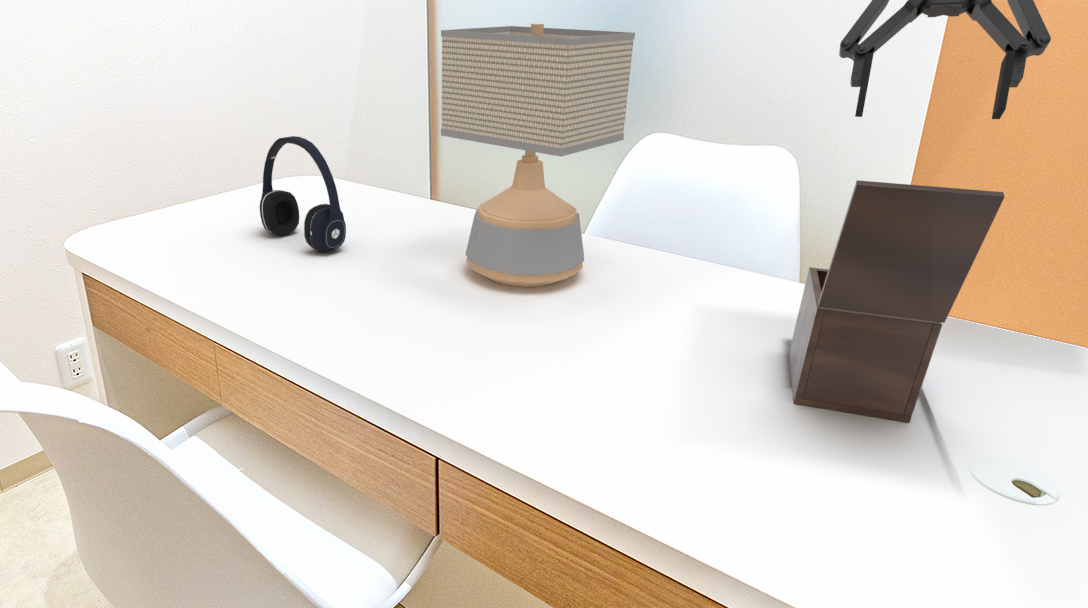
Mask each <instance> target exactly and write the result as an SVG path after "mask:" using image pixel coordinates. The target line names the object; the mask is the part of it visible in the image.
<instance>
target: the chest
mask: <svg viewBox="0 0 1088 608" xmlns="http://www.w3.org/2000/svg"><path fill="white" fill-rule="evenodd" d="M828 270H829V268H826V269H825V268H818V267H810V266H809V267H808V270H807V275H806V279H805V284H804V288H803V293H802V297H801V301H800V304H799V309H798V313H797V318H796V322H795V325H794V330H793V333H792V334H793V335H792V337H791V342H790V347H789V351H788V358H789V369H790V380H791V391H792V402H793V404H795V405H800V406H805V407H811V408H818V409H824V410H829V411H835V412H842V413H848V414H855V415H860V416H866V417H872V418H879V419H885V420H889V421H890V420H891V421H895V422H896V421H897V422H901V423H902V422H903V423H908V424H909V423H911V420H912V416H913V413H914V411H915V408H916V405H917V401H918V398H919V396H920V393H921V390H922V386H923V384H924V381H925V378H926V375H927V372H928V369H929V366H930V363H931V360H932V357H933V354H934V351H935V348H936V345H937V342H938V339H939V336H940V334H941V331H942V327H943V323H940V322H933V321H925V320H917V319H909V318H902V317H894V316H886V315H878V314H870V313H863V312H855V311H847V310H839V309H832V308H824V307H818V302H819V298H820V295H821V292H822V289H823V286H824V283H825V279H826V276H827V273H828Z"/></svg>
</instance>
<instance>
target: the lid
mask: <svg viewBox="0 0 1088 608" xmlns="http://www.w3.org/2000/svg"><path fill="white" fill-rule="evenodd" d="M1005 198H1006V197H1005V194H1004V191H996V190H995V191H994V190H981V189H970V188H969V189H968V188H957V187H945V186H933V185H932V186H931V185H919V184H910V183H909V184H908V183H907V184H906V183H895V182H894V183H893V182H881V181H869V180H856V181H855V184H854V188H853V190H852V194H851V197H850V200H849V203H848V206H847V210H846V212H845V216H844V218H843V219H844V220H843V223H842V225H841V228H840V232H839V234H838V238H837V241H836V246H835V248H834V251H833V254H832V257H831V261H830V264H829V267H828V269H829V270H828V273H827V276H826V279H825V283H824V286H823V289H822V292H821V295H820V298H819V302H818V307H824V308H832V309H839V310H847V311H855V312H863V313H870V314H878V315H886V316H894V317H902V318H909V319H917V320H925V321H933V322H940V323H941V324H945V323H946V321H947V319H948V316H949V314H950V312H951V311H952V308H953V306H954V304H955V302H956V300H957V297H958V296H959V293H960V291H961V290H962V287H963V285H964V283H965V281H966V279H967V277H968V275H969V272H970V271H971V268H972V266H973V265H974V262H975V260H976V258H977V256H978V254H979V253H980V252H979V251H980V249H981V247H982V245H983V243H984V241H985V239H986V237H987V236H988V235H987V234H989V231H990V229H991V227H992V224H993V223H994V220H995V219H996V216H997V215H998V213H999V210H1000V208H1001V206H1002V203H1003V201H1004V200H1005Z"/></svg>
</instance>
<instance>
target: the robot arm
mask: <svg viewBox="0 0 1088 608" xmlns="http://www.w3.org/2000/svg"><path fill="white" fill-rule="evenodd" d="M889 2H890V0H871V2H869V3H868V5H867V7H865V8H864V10H863V12H862V13H861V14H860V15H859V17H858V18H857V20H856V21H855V22H854V24H853V25H852V26H851V28H850V29H849V30H848V31H847V33H846V34H845V36H844V37H843V38H842V40H841V41H840V43H839V52H838V53H839V57H840V58H841V59H846V58H848V59H850V60H852V62H853V65H852V70H851V75H850V82H849V83H850V88H859V91H858V97H857V103H856V108H855V109H856V110H855V114H854V117H855V118H863V114H864V109H865V105H866V104H865V103H866V99H867V98H866V97H867V93H868V87H869V81H870V76H871V70H872V65H873V59H874V54H875V53H876V52H877V51H878V50H879V49H880V48H882V47H883V46H884V45H885V44H887V42H889V41H890V40H891V39H892V38H893V37H895V35H897V34H898V33H899V32H900V31H901V30H903V29H904V28H905V27H906V26H907V25H908V24H910V23H912V22H914V21H915V20H916V19H917V18H919V17H920V16H921V15H922V14H923V15H924V16H927V18H938V17H941V16H946V17H953V18H954V17H960V15H962V14H964V13H965V14H966V15H967V16H968V17H969V18H970V19H971V20H972V21H974V22H976V23H977V24H978V25H979V26H980V27H981V28H982V29H983V30H984V31H985V33H986V34H987V35H988V36H989V37H990V38H991V39H992V40H993V41H994V42H995V44H996V45H997V46H998V47H999V49H1001V50H1002V52H1004V54H1005V55H1004V57H1003V58H1002V60H1001V63H1000V67H999V75H998V80H997V85H996V91H995V97H994V103H993V109H992V114H991V120H1000V119H1001V118H1002V116H1003V115H1004V113H1005V111H1006V109H1007V104H1008V99H1009V94H1010V93H1009V92H1010V88H1018V87H1019V85H1020V83H1021V82H1022V80H1023V78H1024V76H1025V75H1024V74H1025V69H1026V64H1027V59H1028V58H1029V57H1032V56H1035V57H1039V56H1041V55H1042V54H1044V52H1045V51H1046V49H1047V47H1048V46H1049V44H1050V42H1051V40H1052V37H1051V35H1050V33H1049V31H1048V28H1047V26H1046V24H1045V22H1044V20H1043V17H1042V15H1041V14H1040V11H1039V10H1038V7H1037V5H1036V3H1035V0H1007V3H1008V4H1007V5H1008V6H1009V8H1010V10H1011V12H1012V15H1013V17H1014V19H1015V21H1016V23H1017V25H1018V28H1019V30H1020V31H1019V30H1018V29H1017V28H1016V27H1015V26H1014V25H1013V23H1012V22H1011V21H1010V20H1009V19H1008V18H1007V17H1006V16H1005V15H1004V14H1003V13H1002V11H1000V10H999V8H998V7H997V6H996V5H995V4H994V2H993V1H992V0H907V1H906V2H905V4H904V5H903V6H902V7H901V8H900V9H898V10H897V11H896V12H895V13H894V14H893V15H891V16H890V17H889V18H887V19H886V21H884V22H883V23H882V24H880V26H878V27H877V29H875V30H874V31H873V32H872V33H871V34H869V36H867V37H866V38H865V39H864V40H863V38H864V37H865V36H866V34H867V33H868V32H869V30H870V29H871V28H872V26H873V25H874V24H875V22H876V21H877V19H879V17H880V16H881V14H882V13H883V12H884V10H886V8H887V6H888V4H889ZM862 40H863V41H862ZM861 41H862V42H861Z"/></svg>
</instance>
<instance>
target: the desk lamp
mask: <svg viewBox="0 0 1088 608" xmlns="http://www.w3.org/2000/svg"><path fill="white" fill-rule="evenodd" d="M440 37H441V127H440V136H442V137H447V138H454V139H458V140H464V141H471V142H475V143H481V144H486V145H493V146H498V147H503V148H509V149H516V150H520V151H524V154H523V155H521V159H518V160H517V161H516V165H515V170H514V175H513V179H512V180H513V181H512V184H511V186H510V187H508V188H506V189H504V190H503V191H501V192H499V193H498V194H496V195H494V196H493V197H490V198H489V199H488V200H486V201H483V202H482V203H480V204H479V206H478V208H477V209H476V210H475V212H474V215H473V220H472V224H471V228H470V233H469V237H468V242H467V246H466V249H465V256H466V259H465V262H466V264H467V265H468V266H469V268H470V269H471V270H472V271H474V272H475V273H478V274H480V275H482V276H483V277H485V278H486V279H489V280H491V281H493V282H496V283H498V284H502V285H506V286H511V287H520V288H534V287H536V288H537V287H545V286H549V285H552V284H555V283H559V282H561V281H564V280H567V279H569V278H571V277H573V276H575V275H576V274H577V273H579V272H580V271H581V270H582V269H583V267H584V265H583V263H584V262H585V253H584V251H585V250H584V242H583V236H582V235H583V234H582V227H581V219H580V214H579V213H578V211H577V208H576V207H575V206H573V205H571V204H570V203H569V202H567V201H565V200H564V199H563V198H561V197H560V196H558V195H557V194H556V193H554V192H552V191H551V190H550V189H548V188H547V187H546V184H545V173H544V162H543V161H542V160H539V155H536V153H538V154H544V155H550V156H555V157H564V156H568V155H572V154H576V153H580V152H585V151H588V150H591V149H595V148H599V147H602V146H606V145H610V144H613V143H614V144H615V143H617V142H621V141H624V139H625V132H624V131H625V122H626V113H627V103H628V94H629V85H630V76H631V67H632V57H633V49H634V40H635V38H636V32H632V31H631V32H629V31H610V30H596V29H595V30H593V29H574V28H557V27H545V24H544V23H531V24H530V26H519V25H517V26H516V25H507V26H506V25H505V26H503V25H502V26H489V27H474V28H473V27H469V28H456V29H455V28H454V29H441V30H440Z"/></svg>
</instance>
